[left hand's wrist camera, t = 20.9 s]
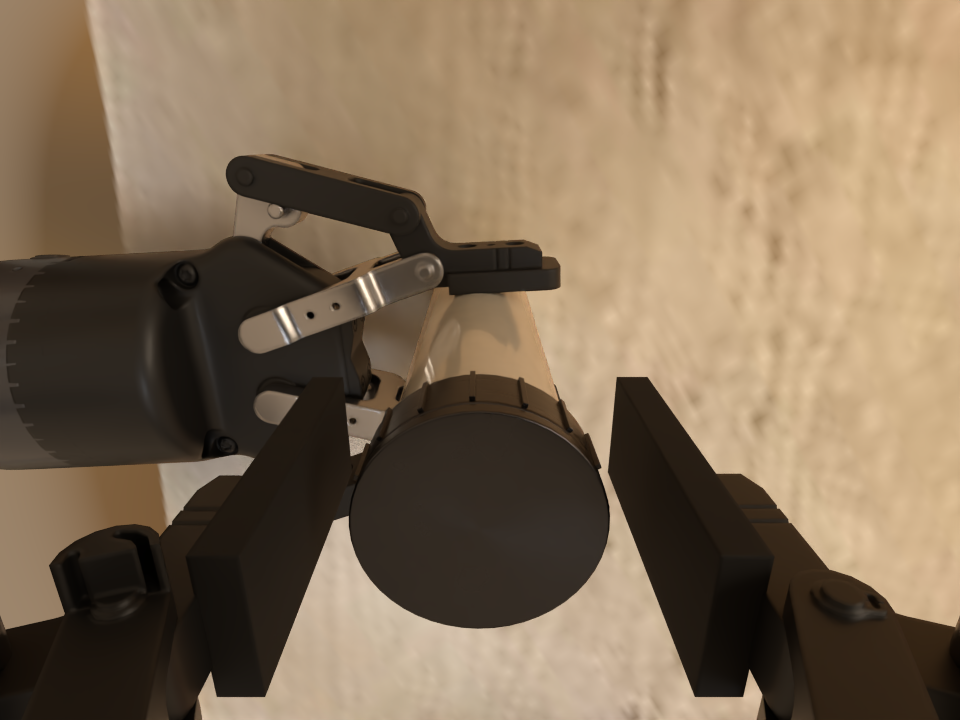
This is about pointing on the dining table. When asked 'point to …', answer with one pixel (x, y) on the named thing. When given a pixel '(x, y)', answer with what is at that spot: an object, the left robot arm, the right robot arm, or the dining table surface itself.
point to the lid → (479, 503)
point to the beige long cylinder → (479, 340)
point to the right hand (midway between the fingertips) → (555, 338)
